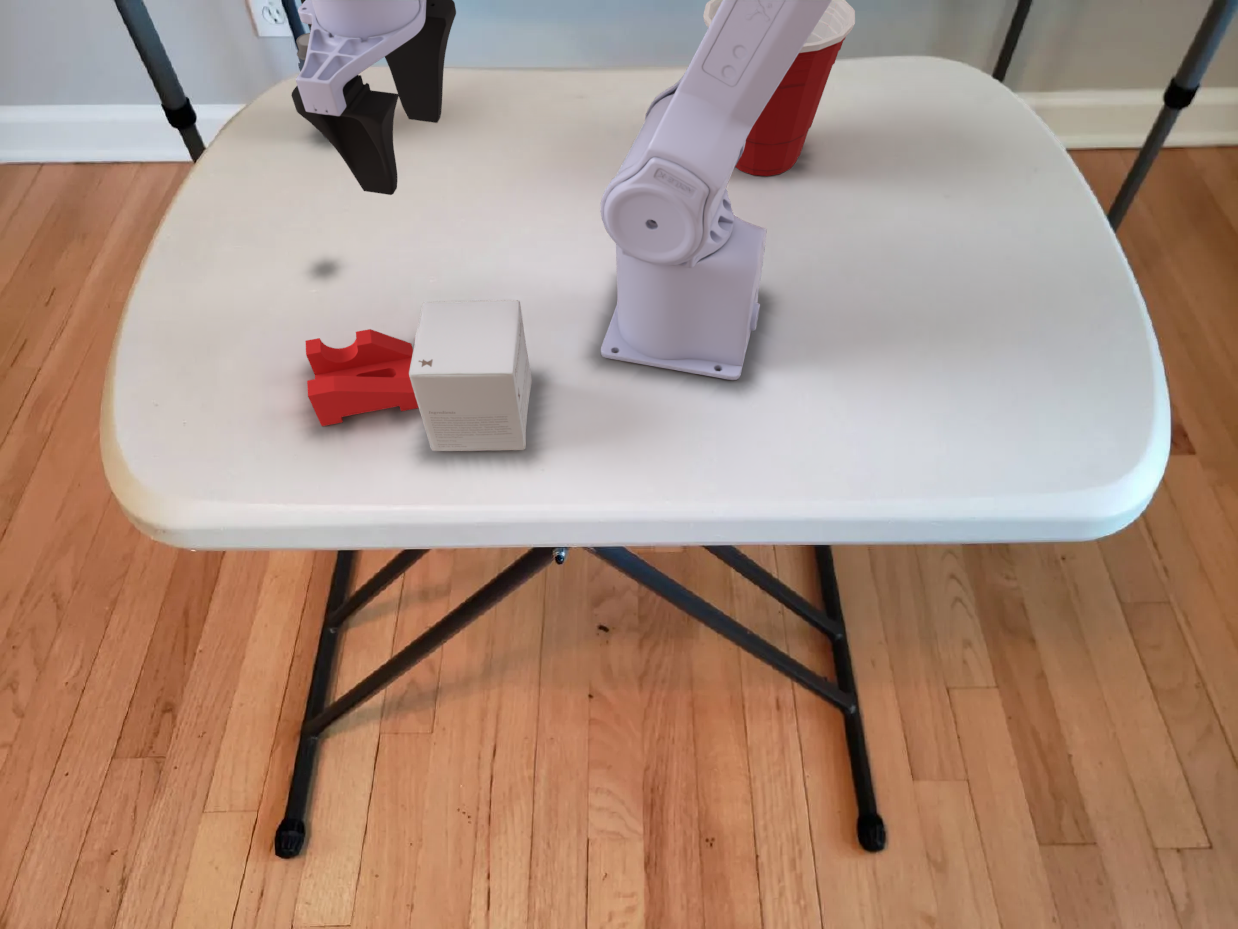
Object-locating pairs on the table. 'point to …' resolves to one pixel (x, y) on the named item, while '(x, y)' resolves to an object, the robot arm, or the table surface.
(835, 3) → the plastic cup
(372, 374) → the bracket
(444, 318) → the product box
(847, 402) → the table surface
